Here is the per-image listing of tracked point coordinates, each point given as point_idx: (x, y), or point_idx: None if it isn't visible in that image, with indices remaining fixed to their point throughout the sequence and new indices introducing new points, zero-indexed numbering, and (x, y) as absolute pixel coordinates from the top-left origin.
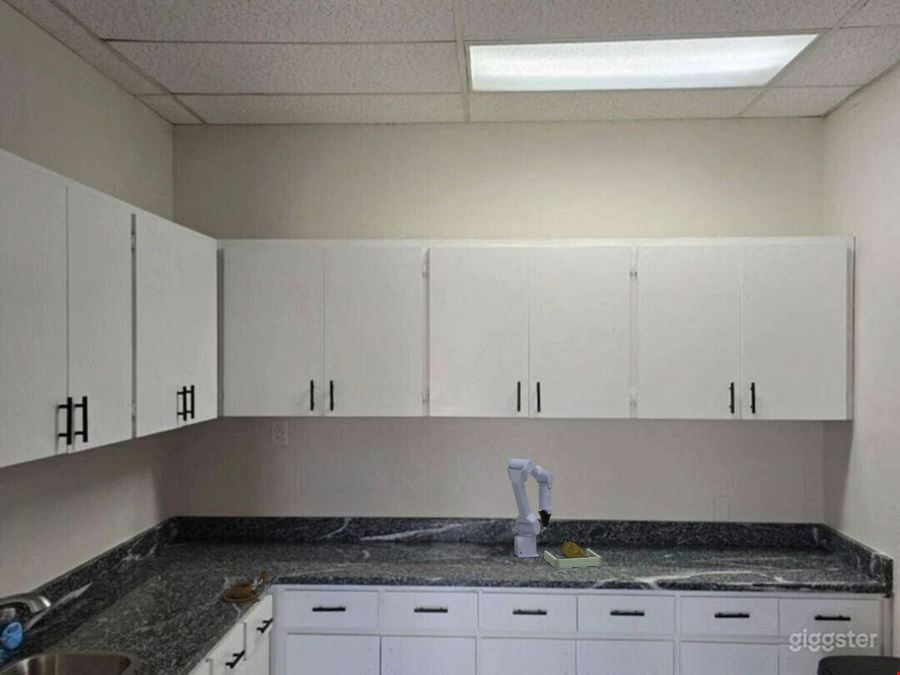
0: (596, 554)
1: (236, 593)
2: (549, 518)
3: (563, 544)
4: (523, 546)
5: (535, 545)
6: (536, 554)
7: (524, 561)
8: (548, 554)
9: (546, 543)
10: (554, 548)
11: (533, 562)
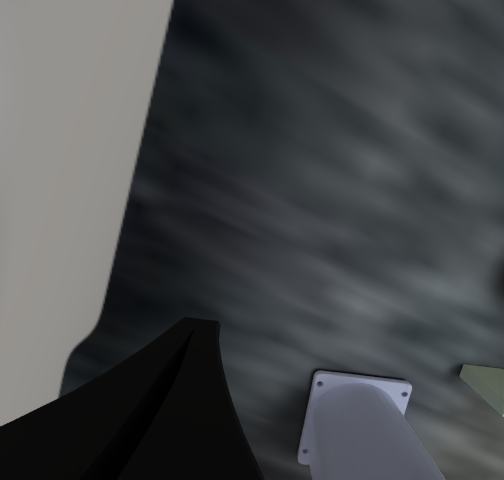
0: None
1: None
2: (237, 419)
3: None
4: None
5: (426, 451)
6: (386, 390)
7: (443, 465)
8: None
9: (144, 220)
10: (276, 228)
11: (480, 439)
